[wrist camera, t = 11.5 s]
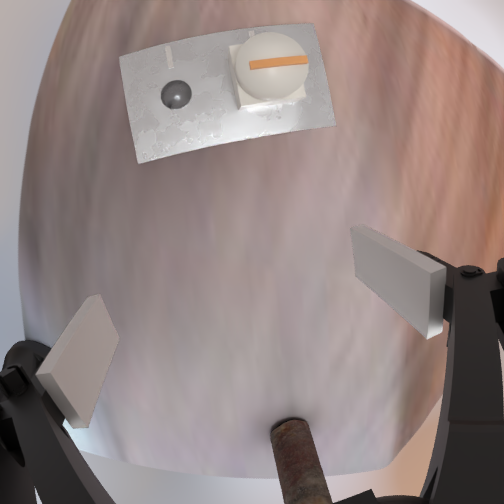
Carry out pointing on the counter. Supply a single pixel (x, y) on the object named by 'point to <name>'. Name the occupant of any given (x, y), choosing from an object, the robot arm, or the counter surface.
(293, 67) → the knob
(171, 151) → the panel
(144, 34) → the counter surface
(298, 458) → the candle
